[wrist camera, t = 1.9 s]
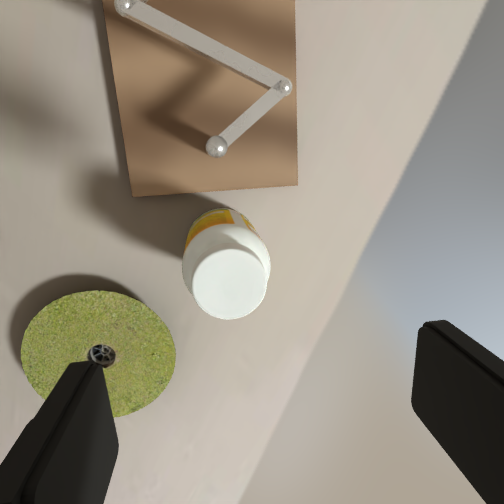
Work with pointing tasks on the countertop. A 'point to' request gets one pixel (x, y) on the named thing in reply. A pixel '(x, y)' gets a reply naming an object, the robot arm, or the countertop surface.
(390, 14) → the countertop surface
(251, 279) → the supplement bottle
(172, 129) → the wire board
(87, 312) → the yellow-green flat disc
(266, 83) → the bent wire
